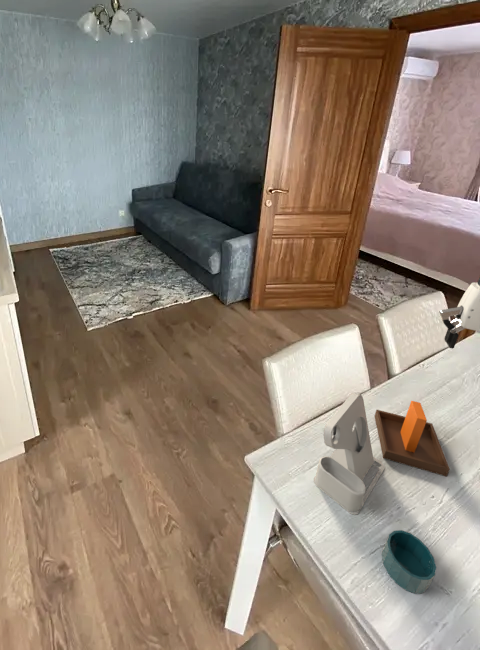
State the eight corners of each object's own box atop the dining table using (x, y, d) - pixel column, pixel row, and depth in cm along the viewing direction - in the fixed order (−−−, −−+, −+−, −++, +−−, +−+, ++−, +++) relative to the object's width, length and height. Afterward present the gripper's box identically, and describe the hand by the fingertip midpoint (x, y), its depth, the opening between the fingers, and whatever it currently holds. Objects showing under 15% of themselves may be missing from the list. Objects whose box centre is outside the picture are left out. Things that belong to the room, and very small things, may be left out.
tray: (429, 430, 92) (432, 423, 91) (446, 476, 80) (450, 469, 79) (374, 415, 96) (376, 409, 95) (383, 458, 85) (385, 451, 84)
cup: (421, 555, 66) (428, 539, 64) (433, 603, 60) (442, 587, 58) (378, 539, 69) (384, 524, 67) (385, 584, 62) (392, 568, 60)
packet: (408, 434, 90) (420, 402, 86) (414, 452, 85) (427, 420, 81) (400, 431, 91) (411, 400, 87) (405, 450, 86) (417, 418, 82)
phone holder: (354, 521, 72) (373, 461, 65) (309, 483, 79) (322, 426, 72) (385, 467, 82) (404, 411, 76) (343, 438, 89) (357, 385, 83)
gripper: (542, 283, 73) (512, 348, 80) (446, 270, 79) (425, 332, 85) (565, 300, 67) (530, 369, 73) (459, 285, 72) (435, 351, 79)
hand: (474, 349), depth 79 cm, fingers open, 9 cm apart
